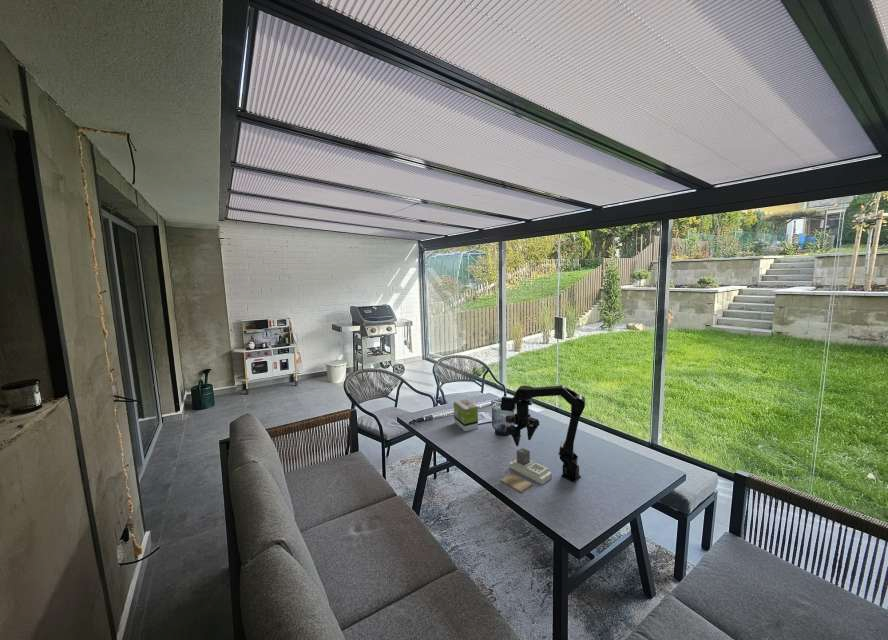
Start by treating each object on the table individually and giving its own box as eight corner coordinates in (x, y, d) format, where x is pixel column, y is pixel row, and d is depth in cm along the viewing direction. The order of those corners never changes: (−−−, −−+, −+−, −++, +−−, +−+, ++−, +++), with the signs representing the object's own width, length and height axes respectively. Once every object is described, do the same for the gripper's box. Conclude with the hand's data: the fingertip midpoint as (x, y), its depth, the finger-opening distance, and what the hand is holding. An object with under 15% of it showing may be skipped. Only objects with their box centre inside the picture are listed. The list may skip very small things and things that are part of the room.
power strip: (551, 477, 159) (551, 469, 159) (542, 484, 154) (542, 476, 154) (519, 462, 174) (519, 454, 173) (509, 467, 169) (509, 459, 168)
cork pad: (532, 485, 154) (532, 484, 154) (521, 492, 149) (521, 491, 149) (511, 474, 163) (511, 473, 163) (500, 480, 158) (500, 479, 158)
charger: (529, 464, 166) (529, 450, 166) (524, 467, 164) (524, 453, 163) (522, 461, 170) (522, 447, 169) (516, 464, 167) (516, 450, 166)
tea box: (453, 423, 224) (453, 401, 222) (467, 420, 228) (466, 398, 226) (464, 432, 210) (464, 409, 208) (478, 428, 214) (478, 406, 212)
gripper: (521, 403, 177) (522, 431, 179) (497, 412, 166) (497, 443, 167) (539, 409, 168) (540, 439, 170) (514, 419, 157) (515, 451, 159)
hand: (523, 443), depth 167 cm, fingers open, 9 cm apart
